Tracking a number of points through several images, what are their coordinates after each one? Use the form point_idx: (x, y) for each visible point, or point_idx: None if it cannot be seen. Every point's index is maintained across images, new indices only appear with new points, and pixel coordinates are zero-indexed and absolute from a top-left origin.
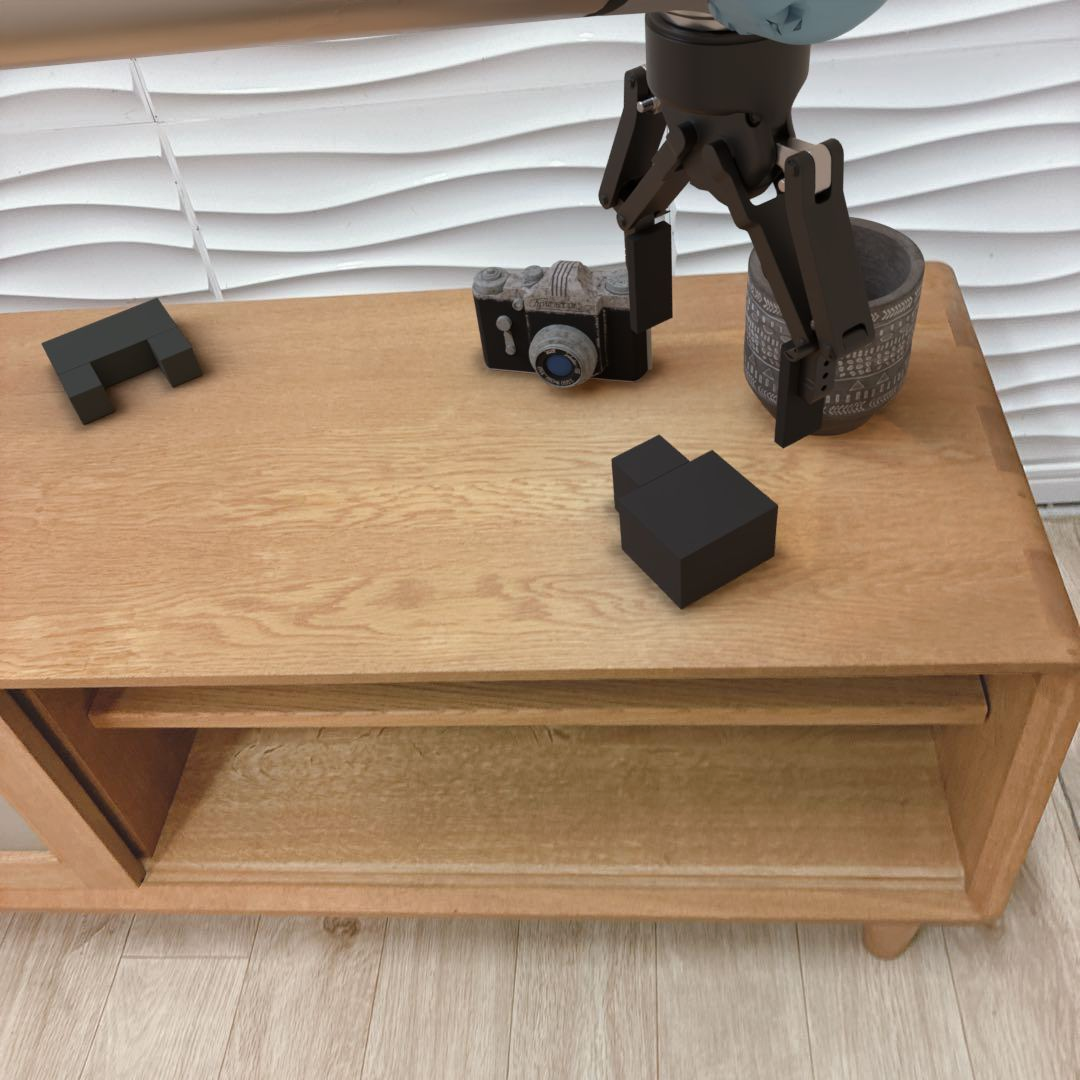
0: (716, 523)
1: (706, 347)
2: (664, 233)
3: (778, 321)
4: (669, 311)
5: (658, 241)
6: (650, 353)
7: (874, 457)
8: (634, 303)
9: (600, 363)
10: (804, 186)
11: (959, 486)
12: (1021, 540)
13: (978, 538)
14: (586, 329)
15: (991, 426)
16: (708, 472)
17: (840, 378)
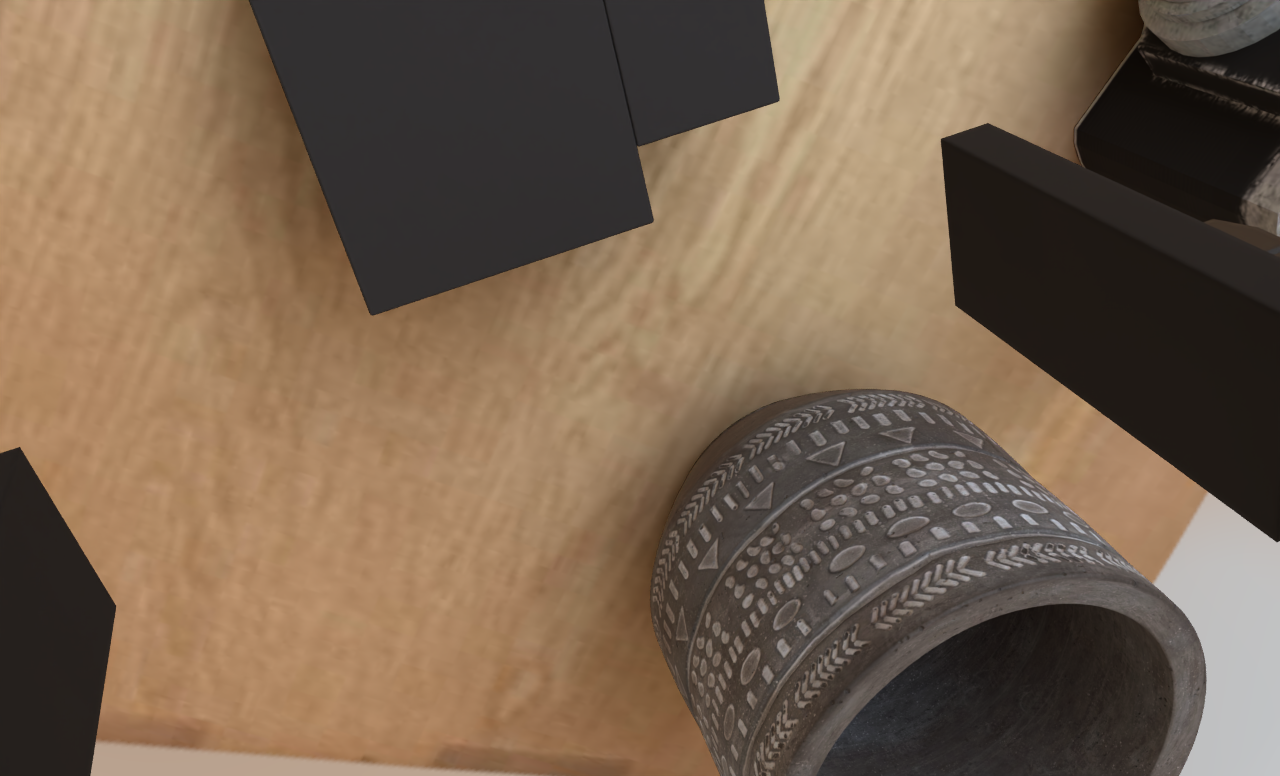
0: (357, 127)
1: None
2: (1254, 488)
3: (898, 569)
4: (974, 306)
5: (1232, 438)
6: None
7: (579, 551)
8: (1041, 179)
9: (1160, 55)
10: None
11: (429, 671)
12: (236, 726)
13: (268, 658)
14: (1268, 49)
15: (568, 769)
16: (569, 180)
17: (705, 610)
